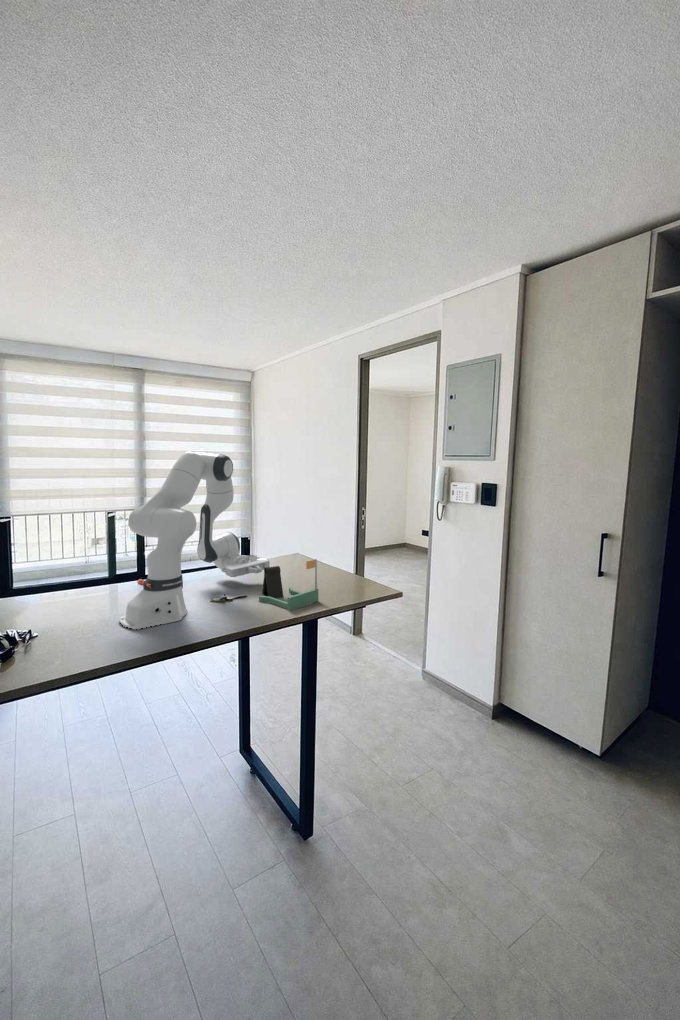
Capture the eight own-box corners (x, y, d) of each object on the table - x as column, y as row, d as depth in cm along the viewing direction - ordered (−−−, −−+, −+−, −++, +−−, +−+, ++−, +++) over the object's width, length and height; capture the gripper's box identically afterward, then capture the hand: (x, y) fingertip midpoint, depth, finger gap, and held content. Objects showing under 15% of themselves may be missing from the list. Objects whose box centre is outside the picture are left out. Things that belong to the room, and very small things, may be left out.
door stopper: (283, 597, 181) (283, 568, 179) (269, 599, 178) (268, 570, 176) (275, 591, 188) (275, 563, 187) (262, 593, 186) (261, 565, 184)
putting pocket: (287, 611, 164) (286, 566, 162) (257, 601, 176) (257, 559, 174) (320, 600, 177) (320, 558, 175) (290, 591, 188) (290, 552, 186)
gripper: (218, 562, 190) (238, 568, 180) (257, 554, 205) (277, 559, 195) (219, 577, 190) (238, 583, 181) (258, 567, 205) (277, 573, 196)
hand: (259, 570), depth 188 cm, fingers closed
